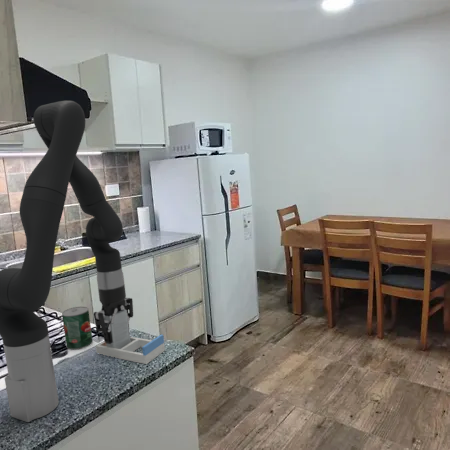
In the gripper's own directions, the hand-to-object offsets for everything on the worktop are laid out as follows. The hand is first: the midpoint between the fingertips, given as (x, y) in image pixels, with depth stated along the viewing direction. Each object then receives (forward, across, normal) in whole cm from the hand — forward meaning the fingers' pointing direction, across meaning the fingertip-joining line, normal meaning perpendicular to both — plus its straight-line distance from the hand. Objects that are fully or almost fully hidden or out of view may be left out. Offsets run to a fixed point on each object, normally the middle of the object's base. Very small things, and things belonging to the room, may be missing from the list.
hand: (117, 337), depth 119 cm
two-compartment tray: (+4, 0, -4) cm, 6 cm away
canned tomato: (+4, -1, +16) cm, 16 cm away
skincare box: (+4, 0, 0) cm, 4 cm away
